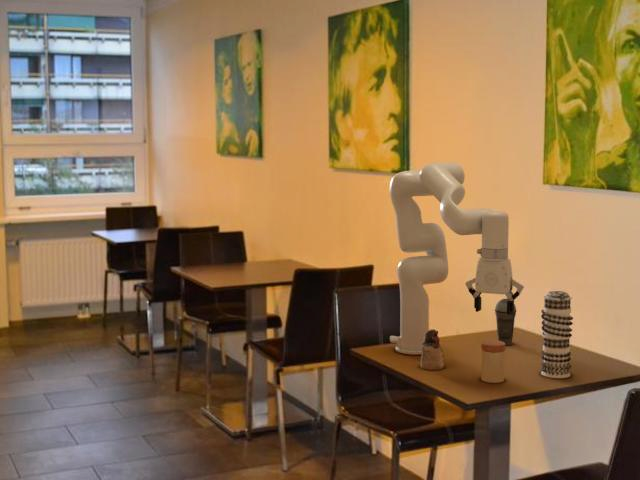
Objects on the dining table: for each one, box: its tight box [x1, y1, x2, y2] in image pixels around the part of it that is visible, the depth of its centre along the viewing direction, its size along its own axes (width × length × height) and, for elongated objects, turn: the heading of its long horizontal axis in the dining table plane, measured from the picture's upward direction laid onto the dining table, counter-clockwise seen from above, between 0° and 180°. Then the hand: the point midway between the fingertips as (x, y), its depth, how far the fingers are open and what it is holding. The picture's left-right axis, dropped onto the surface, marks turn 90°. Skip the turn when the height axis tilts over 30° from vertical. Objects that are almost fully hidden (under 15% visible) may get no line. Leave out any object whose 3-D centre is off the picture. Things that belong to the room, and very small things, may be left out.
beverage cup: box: [494, 297, 517, 346], centre depth 306 cm, size 7×7×20 cm
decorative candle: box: [540, 290, 574, 379], centre depth 267 cm, size 9×9×25 cm
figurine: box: [419, 328, 445, 371], centre depth 277 cm, size 7×7×12 cm
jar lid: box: [480, 339, 506, 352], centre depth 262 cm, size 7×7×2 cm
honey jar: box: [480, 349, 506, 384], centre depth 262 cm, size 7×7×11 cm
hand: (493, 312), depth 261 cm, fingers open, 9 cm apart
